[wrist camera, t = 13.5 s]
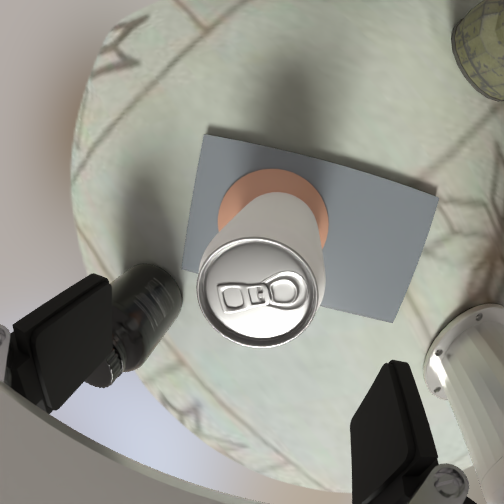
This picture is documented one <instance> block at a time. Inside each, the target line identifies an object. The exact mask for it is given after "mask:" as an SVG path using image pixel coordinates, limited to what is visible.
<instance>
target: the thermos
mask: <svg viewBox="0 0 504 504" xmlns="http://www.w3.org/2000/svg"><path fill="white" fill-rule="evenodd" d="M451 40H452V49H453V54H454V56H455V59H456V62H457V65H458V67H459V68H460V70H461V72H462V73H463V75H464V77H465V78H466V80H467V81H468V82H469V83H470V84H471V85H472V86H473V87H474V88H475V89H476V90H477V91H478V92H480V93H481V94H483V95H484V96H485V97H487V98H489V99H492V100H495V101H504V0H484V1H482V2H481V3H480V4H478V5H477V6H476V7H474V8H473V9H472V10H470V11H469V13H468V14H467V15H466V17H465V18H464V19H462V20H460V21H459V22H458V24H457V25H456V26H455V27H454V29H453V34H452V38H451Z"/></svg>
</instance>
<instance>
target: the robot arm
mask: <svg viewBox="0 0 504 504" xmlns="http://www.w3.org/2000/svg"><path fill="white" fill-rule="evenodd" d="M13 329H14V332H12V333H11V334H10V332H9V330H8V329H7V328H6V327H5V326H3V325H0V504H268V503H263V502H259V501H254V500H249V499H246V498H242V497H238V496H233V495H230V494H226V493H223V492H219V491H216V490H212V489H209V488H206V487H203V486H199V485H196V484H193V483H190V482H187V481H184V480H182V479H179V478H176V477H173V476H171V475H168V474H165V473H163V472H160V471H158V470H155V469H153V468H151V467H148V466H146V465H143V464H141V463H139V462H137V461H134V460H132V459H130V458H128V457H126V456H123V455H121V454H119V453H117V452H115V451H113V450H111V449H109V448H107V447H105V446H103V445H101V444H99V443H97V442H95V441H94V440H92V439H90V438H88V437H86V436H84V435H83V434H81V433H79V432H77V431H76V430H74V429H72V428H71V427H69V426H67V425H66V424H64V423H62V422H61V421H59V420H57V419H56V418H54V417H53V416H51V415H49V414H50V413H51V412H52V411H53V410H58V409H59V408H60V407H61V406H62V405H63V404H64V403H65V402H66V400H67V399H68V398H69V397H70V396H71V395H72V394H73V393H74V392H75V391H76V389H78V387H79V386H80V385H81V384H82V383H83V382H84V381H85V380H86V379H87V378H88V377H89V376H90V375H91V374H92V373H93V371H94V370H95V369H96V368H97V367H98V366H99V365H100V364H101V363H102V362H103V361H104V360H105V359H106V358H107V357H108V356H109V354H110V353H111V351H112V348H113V337H112V286H111V284H109V281H108V279H107V278H105V277H102V276H99V275H97V274H90V275H89V276H87V277H85V278H84V279H82V280H81V281H79V282H77V283H76V284H74V285H73V286H71V287H69V288H68V289H66V290H65V291H63V292H62V293H60V294H59V295H57V296H55V297H54V298H52V299H51V300H49V301H48V302H46V303H44V304H43V305H42V306H40V307H38V308H37V309H35V310H34V311H32V312H31V313H29V314H28V315H26V316H25V317H23V318H22V319H21V320H19V321H17V322H16V323H15V324H13ZM423 375H424V379H425V383H426V385H427V387H428V390H429V391H430V392H431V393H432V394H433V395H434V396H436V397H437V398H440V399H443V400H448V401H449V403H450V405H451V408H452V410H453V413H454V415H455V417H456V420H457V422H458V425H459V427H460V430H461V433H462V435H463V438H464V440H465V443H466V446H467V448H468V451H469V454H470V457H471V460H472V463H473V465H474V468H475V471H476V474H477V477H478V481H479V484H480V487H481V490H482V493H483V496H484V499H485V501H486V503H487V504H504V307H503V306H501V305H498V304H483V305H479V306H476V307H474V308H471V309H469V310H467V311H465V312H464V313H462V314H460V315H459V316H458V317H456V318H455V319H454V320H452V321H451V322H450V323H449V324H448V325H447V326H446V327H445V328H444V329H443V330H442V331H441V332H440V334H439V335H438V336H437V338H436V339H435V340H434V342H433V344H432V345H431V347H430V349H429V351H428V354H427V356H426V358H425V363H424V373H423ZM350 434H351V457H352V504H477V503H475V502H474V501H472V500H471V499H470V498H468V497H467V494H468V490H469V482H468V479H467V477H466V475H465V474H464V472H463V471H462V470H461V469H459V468H458V467H456V466H454V465H452V464H447V463H446V464H440V465H439V464H438V460H437V458H438V455H437V451H436V447H435V444H434V440H433V437H432V433H431V430H430V427H429V423H428V420H427V417H426V413H425V410H424V407H423V404H422V401H421V398H420V395H419V392H418V389H417V386H416V383H415V380H414V377H413V375H412V372H411V369H410V366H409V364H408V363H406V362H401V361H396V360H391V361H390V362H389V363H385V364H384V365H383V366H382V368H381V370H380V372H379V374H378V375H377V377H376V379H375V381H374V383H373V384H372V386H371V388H370V390H369V391H368V393H367V395H366V396H365V398H364V400H363V401H362V403H361V405H360V406H359V408H358V410H357V411H356V413H355V414H354V416H353V418H352V420H351V424H350Z"/></svg>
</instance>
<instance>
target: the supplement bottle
mask: <svg viewBox="0 0 504 504" xmlns="http://www.w3.org/2000/svg"><path fill="white" fill-rule="evenodd" d="M110 284H111V286H112V337H113V348H112V351H111V353H110V354H109V356H108V357H107V358H106V359H105V360H104V361H103V362H102V363H101V364H100V365H99V366H98V367H97V368H96V369H95V370H94V371H93V373H92V374H91V375H90V376H89V377H88V378H87V379H86V380H85V382H86V383H89V384H90V385H93V386H95V387H99V388H101V387H102V388H105V387H108V386H109V385H111V384H112V383H113V382H114V381H115V379H116V378H117V377H119V376H120V375H121V374H122V372H129V371H133V370H135V369H137V368H139V367H140V366H142V365H143V363H144V362H145V361H146V360H147V358H148V357H149V356H150V354H151V353H152V351H153V350H154V349H155V347H156V346H157V344H158V343H159V342H160V340H161V339H162V337H163V336H164V335H165V333H166V332H167V331H168V329H169V328H170V326H171V325H172V324H173V322H174V321H175V319H176V318H177V317H178V315H179V313H180V310H181V306H182V297H181V293H180V290H179V287H178V285H177V283H176V282H175V280H174V279H173V278H172V277H171V276H170V275H169V274H168V273H167V272H166V271H165V270H163V269H161V268H160V267H157V266H155V265H151V264H139V265H136V266H133V267H132V268H130V269H129V270H127V271H126V272H124V273H123V274H122V275H120V276H119V277H118V278H117V279H115V280H114V281H113V282H111V283H110Z"/></svg>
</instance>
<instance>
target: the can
mask: <svg viewBox="0 0 504 504" xmlns="http://www.w3.org/2000/svg"><path fill="white" fill-rule="evenodd" d="M325 282H326V278H325V266H324V259H323V253H322V246H321V240H320V235H319V230H318V225H317V222H316V219H315V216H314V214H313V212H312V211H311V209H310V208H309V207H308V205H307V204H306V203H305V202H303V201H302V200H301V199H299V198H298V197H296V196H294V195H291V194H288V193H283V192H271V193H266V194H263V195H260V196H258V197H256V198H255V199H253V200H252V201H251V202H250V203H248V204H247V205H246V206H245V207H244V208H243V209H242V210H241V211H240V212H239V213H238V214H237V215H236V216H235V217H234V218H233V219H232V220H231V221H230V222H229V223H228V224H227V225H226V226H225V227H224V228H223V229H222V230H221V231H220V232H219V233H218V234H217V235H216V236H215V237H214V238H213V239H212V241H211V242H210V243H209V245H208V246H207V248H206V250H205V252H204V254H203V256H202V259H201V262H200V267H199V275H198V279H197V298H198V302H199V306H200V308H201V311H202V313H203V315H204V316H205V318H206V319H207V321H208V322H209V323H210V325H211V326H212V327H213V328H214V329H215V330H216V331H217V332H219V333H220V334H221V335H222V336H224V337H226V338H227V339H229V340H231V341H233V342H235V343H238V344H241V345H244V346H248V347H255V348H268V347H275V346H279V345H282V344H285V343H287V342H289V341H291V340H293V339H295V338H296V337H298V336H299V335H300V334H301V333H302V332H303V331H304V330H305V329H306V328H307V327H308V326H309V324H310V323H311V321H312V320H313V318H314V316H315V313H316V311H317V310H318V308H319V306H320V304H321V302H322V299H323V296H324V291H325Z"/></svg>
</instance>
